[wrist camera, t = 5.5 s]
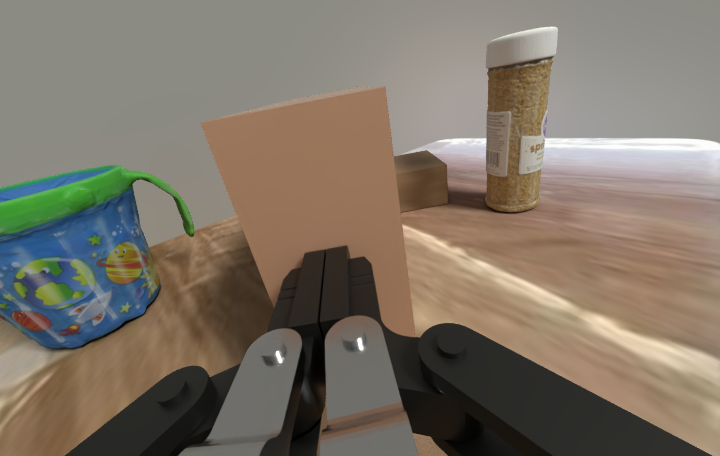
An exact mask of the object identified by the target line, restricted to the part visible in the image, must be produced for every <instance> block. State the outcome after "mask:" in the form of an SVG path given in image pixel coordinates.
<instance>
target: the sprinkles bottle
mask: <svg viewBox="0 0 720 456" xmlns="http://www.w3.org/2000/svg"><path fill="white" fill-rule="evenodd" d="M557 34H558V29H557V28H556V27H543V28H537V29H531V30H526V31H522V32H517V33H513V34H509V35H505V36H502V37H499V38H497V39H493V40H491V41H490V42H489V43H488V44H487V54H486V68H488V69H489V71H488V77H489V80H488V110H487V144H486V171H487V195H486V197H485V203H486V204H487V205H488V206H489V207H491V208H493V209H495V210H498V211H502V212H521V211H526V210H529V209H532V208H534V207H536V206H537V205H538V204H539V202H540V197H539V186H540V175H541V168H542V165H543V154H544V142H545V131H546V121H547V111H548V110H547V103H548V94H549V81H550V73H551V65H552V63H553V60H552V58H553V57H554V56H555V54H556V47H557V36H558V35H557Z"/></svg>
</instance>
